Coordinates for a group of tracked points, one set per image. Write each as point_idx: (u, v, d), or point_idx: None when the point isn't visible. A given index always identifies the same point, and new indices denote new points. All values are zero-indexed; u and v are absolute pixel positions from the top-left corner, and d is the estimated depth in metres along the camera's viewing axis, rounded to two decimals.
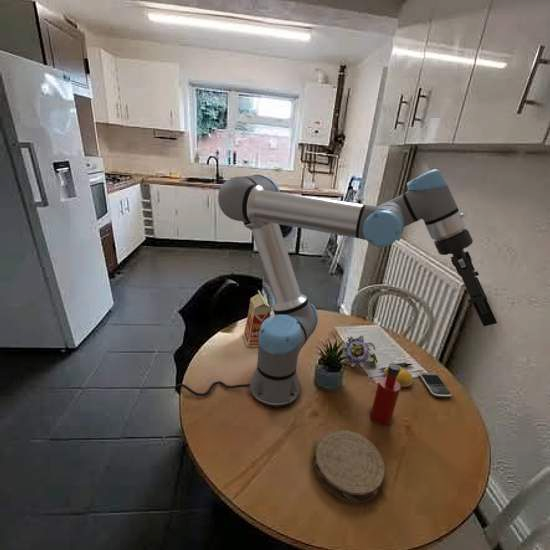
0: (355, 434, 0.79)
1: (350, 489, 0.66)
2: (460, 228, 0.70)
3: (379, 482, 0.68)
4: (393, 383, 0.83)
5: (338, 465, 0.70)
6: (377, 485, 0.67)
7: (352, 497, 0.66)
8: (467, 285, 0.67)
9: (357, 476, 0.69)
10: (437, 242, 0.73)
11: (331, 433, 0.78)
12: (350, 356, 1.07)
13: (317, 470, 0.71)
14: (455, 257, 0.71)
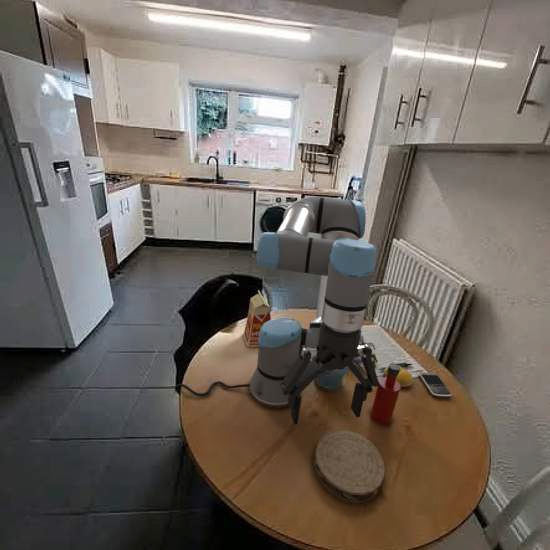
0: (355, 434, 0.79)
1: (350, 489, 0.66)
2: (334, 327, 0.54)
3: (379, 482, 0.68)
4: (393, 383, 0.83)
5: (338, 465, 0.70)
6: (377, 485, 0.67)
7: (352, 497, 0.66)
8: (290, 371, 0.59)
9: (357, 476, 0.69)
10: None
11: (331, 433, 0.78)
12: None
13: (317, 470, 0.71)
14: (317, 345, 0.58)
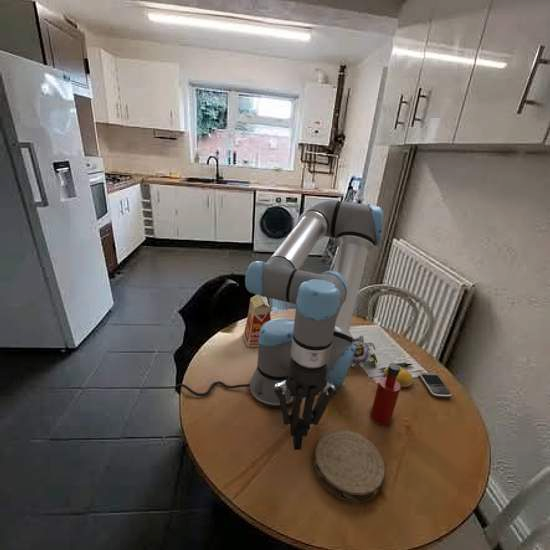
0: (355, 434, 0.79)
1: (350, 489, 0.66)
2: (297, 362, 0.58)
3: (379, 482, 0.68)
4: (393, 383, 0.83)
5: (338, 465, 0.70)
6: (377, 485, 0.67)
7: (352, 497, 0.66)
8: None
9: (357, 476, 0.69)
10: None
11: (331, 433, 0.78)
12: None
13: (317, 470, 0.71)
14: (287, 374, 0.63)
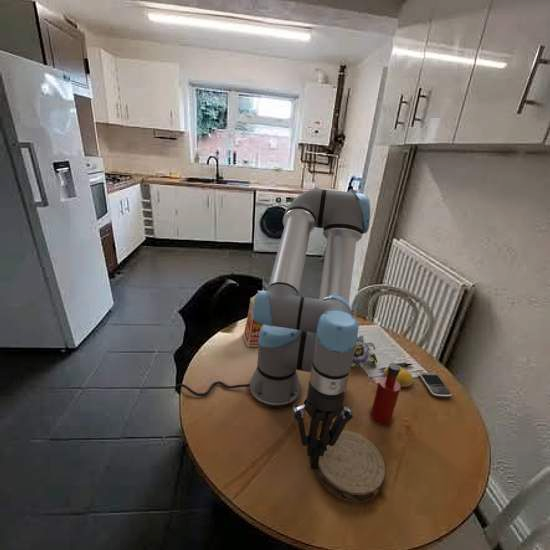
0: (355, 434, 0.79)
1: (351, 489, 0.66)
2: (317, 389, 0.60)
3: (379, 482, 0.68)
4: (393, 383, 0.83)
5: (338, 465, 0.70)
6: (377, 485, 0.67)
7: (352, 497, 0.66)
8: None
9: (358, 476, 0.69)
10: None
11: None
12: None
13: (317, 470, 0.71)
14: (306, 398, 0.65)
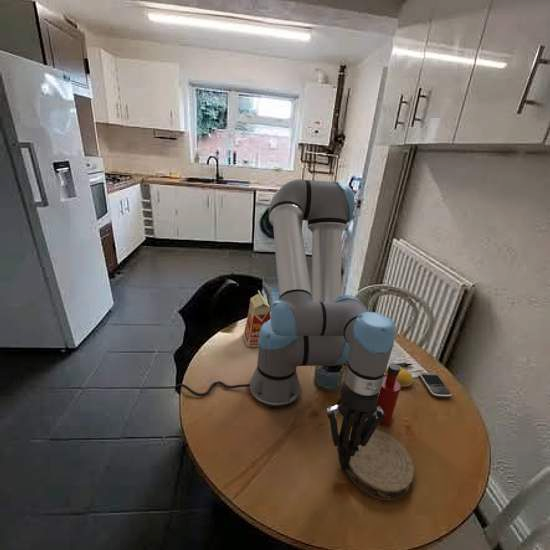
0: (380, 432, 0.80)
1: (385, 487, 0.67)
2: (353, 390, 0.61)
3: (411, 478, 0.69)
4: (393, 383, 0.83)
5: (369, 464, 0.71)
6: (409, 481, 0.68)
7: (386, 495, 0.67)
8: None
9: (389, 473, 0.70)
10: None
11: None
12: None
13: (348, 470, 0.72)
14: (339, 399, 0.66)
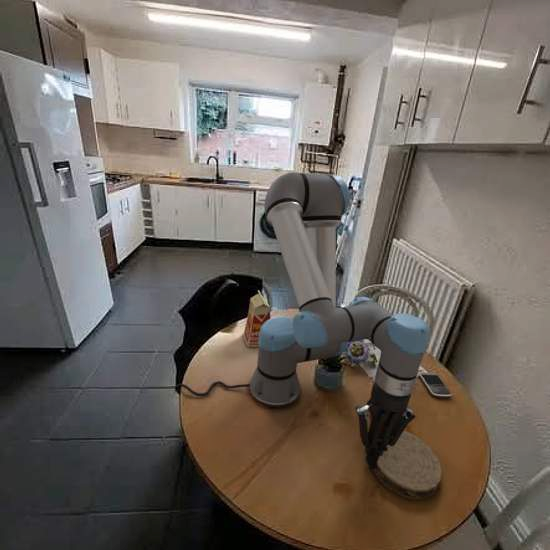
0: (404, 432, 0.80)
1: (414, 487, 0.67)
2: (385, 390, 0.62)
3: (439, 478, 0.70)
4: None
5: (396, 464, 0.72)
6: (437, 481, 0.69)
7: (416, 494, 0.67)
8: (359, 427, 0.69)
9: (417, 473, 0.70)
10: None
11: None
12: (350, 356, 1.07)
13: (376, 470, 0.72)
14: (369, 400, 0.67)
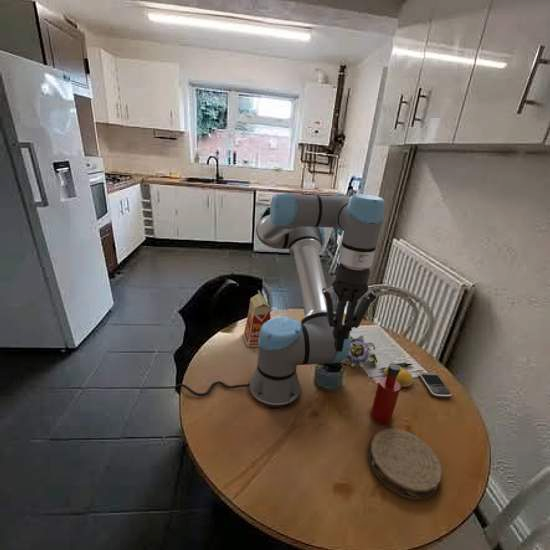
0: (404, 432, 0.80)
1: (414, 486, 0.67)
2: (346, 264, 0.68)
3: (439, 478, 0.70)
4: (393, 383, 0.83)
5: (397, 464, 0.72)
6: (438, 481, 0.69)
7: (416, 494, 0.67)
8: (326, 310, 0.76)
9: (417, 473, 0.70)
10: None
11: (382, 432, 0.80)
12: (350, 356, 1.07)
13: (376, 470, 0.72)
14: (334, 281, 0.73)
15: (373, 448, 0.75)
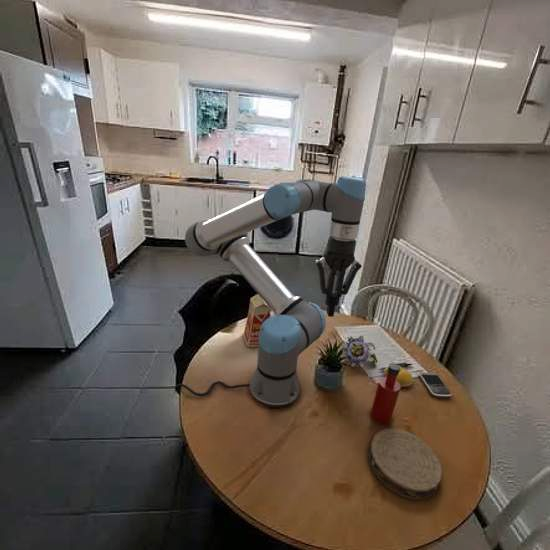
0: (404, 432, 0.80)
1: (414, 486, 0.67)
2: (335, 236, 0.80)
3: (439, 478, 0.70)
4: (393, 383, 0.83)
5: (397, 464, 0.72)
6: (438, 481, 0.69)
7: (416, 494, 0.67)
8: (319, 279, 0.88)
9: (417, 473, 0.70)
10: None
11: (382, 432, 0.80)
12: (350, 356, 1.07)
13: (376, 470, 0.72)
14: None
15: (373, 448, 0.75)
